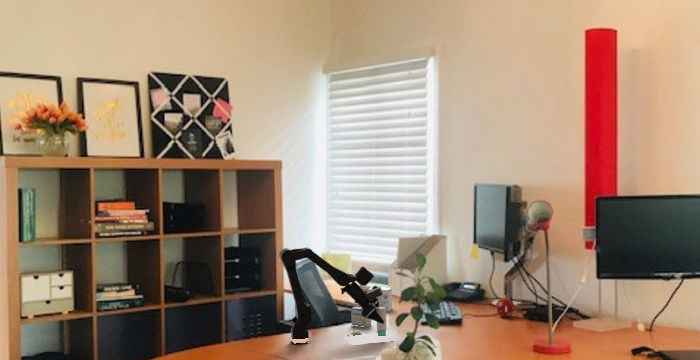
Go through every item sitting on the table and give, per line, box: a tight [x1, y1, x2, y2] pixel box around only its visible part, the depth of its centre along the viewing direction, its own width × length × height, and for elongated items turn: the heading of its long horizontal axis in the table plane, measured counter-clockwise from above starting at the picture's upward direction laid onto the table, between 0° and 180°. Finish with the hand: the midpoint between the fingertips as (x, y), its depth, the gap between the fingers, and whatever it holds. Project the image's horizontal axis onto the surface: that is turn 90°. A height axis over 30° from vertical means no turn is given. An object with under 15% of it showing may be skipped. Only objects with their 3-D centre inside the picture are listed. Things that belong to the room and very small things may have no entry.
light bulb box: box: [367, 286, 393, 312], centre depth 381 cm, size 11×7×11 cm, turn 73°
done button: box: [352, 329, 360, 335], centre depth 326 cm, size 3×3×2 cm
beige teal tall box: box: [376, 307, 387, 336], centre depth 325 cm, size 4×4×12 cm
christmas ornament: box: [495, 294, 516, 318], centre depth 359 cm, size 9×9×10 cm
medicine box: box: [350, 306, 372, 328], centre depth 346 cm, size 8×4×9 cm, turn 62°
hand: (384, 320), depth 325 cm, fingers open, 9 cm apart
